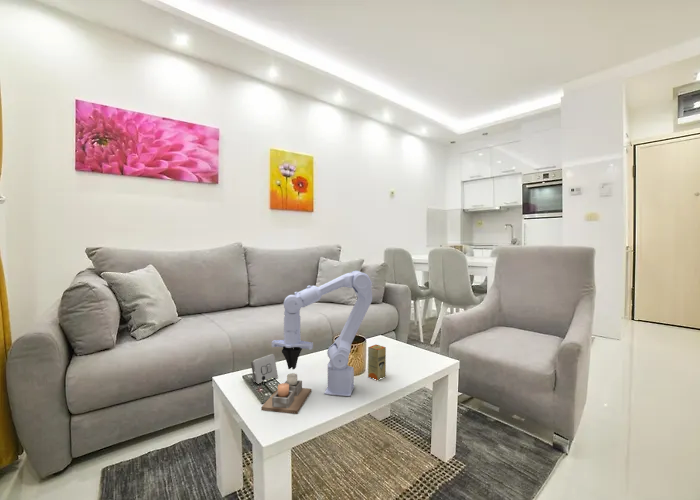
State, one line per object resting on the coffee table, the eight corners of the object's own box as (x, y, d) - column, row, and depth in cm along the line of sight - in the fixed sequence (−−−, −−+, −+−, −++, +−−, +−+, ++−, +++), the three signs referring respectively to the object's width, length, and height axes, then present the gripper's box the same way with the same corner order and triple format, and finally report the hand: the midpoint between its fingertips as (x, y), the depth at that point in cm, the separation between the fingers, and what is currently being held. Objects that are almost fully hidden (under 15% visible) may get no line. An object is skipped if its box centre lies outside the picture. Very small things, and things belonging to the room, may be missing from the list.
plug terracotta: (290, 392, 103) (290, 383, 103) (286, 397, 99) (286, 388, 99) (280, 391, 103) (280, 382, 103) (275, 396, 100) (275, 387, 100)
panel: (311, 391, 112) (311, 380, 112) (297, 413, 97) (297, 401, 97) (280, 388, 114) (280, 377, 114) (261, 410, 99) (261, 397, 99)
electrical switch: (258, 386, 116) (256, 361, 116) (250, 383, 119) (248, 359, 119) (278, 378, 123) (276, 354, 123) (270, 376, 126) (268, 352, 127)
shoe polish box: (368, 377, 124) (368, 347, 124) (375, 373, 128) (376, 344, 127) (377, 380, 121) (377, 350, 120) (385, 377, 124) (385, 347, 124)
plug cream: (298, 382, 111) (298, 373, 111) (295, 386, 107) (295, 378, 107) (289, 381, 111) (289, 372, 111) (285, 385, 108) (285, 377, 108)
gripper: (267, 331, 106) (267, 371, 106) (308, 333, 104) (308, 374, 104) (276, 326, 113) (276, 363, 113) (314, 328, 111) (314, 366, 111)
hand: (292, 368), depth 109 cm, fingers closed
